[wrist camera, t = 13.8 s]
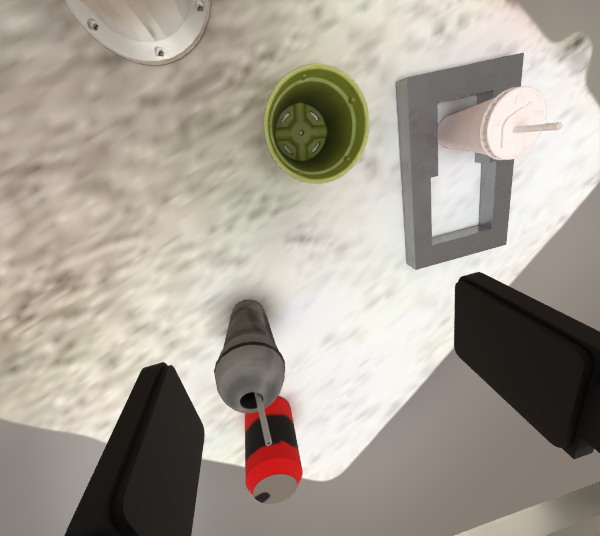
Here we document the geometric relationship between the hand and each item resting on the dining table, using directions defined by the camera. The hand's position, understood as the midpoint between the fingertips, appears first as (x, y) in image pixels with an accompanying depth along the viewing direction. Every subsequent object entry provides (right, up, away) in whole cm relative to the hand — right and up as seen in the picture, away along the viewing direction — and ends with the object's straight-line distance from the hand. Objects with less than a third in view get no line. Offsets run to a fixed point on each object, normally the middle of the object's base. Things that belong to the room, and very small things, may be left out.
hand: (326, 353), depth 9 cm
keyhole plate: (+19, +16, +28) cm, 38 cm away
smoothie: (+18, +20, +27) cm, 38 cm away
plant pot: (-1, +18, +24) cm, 30 cm away
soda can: (-6, -21, +39) cm, 44 cm away
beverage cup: (-8, -4, +31) cm, 32 cm away
